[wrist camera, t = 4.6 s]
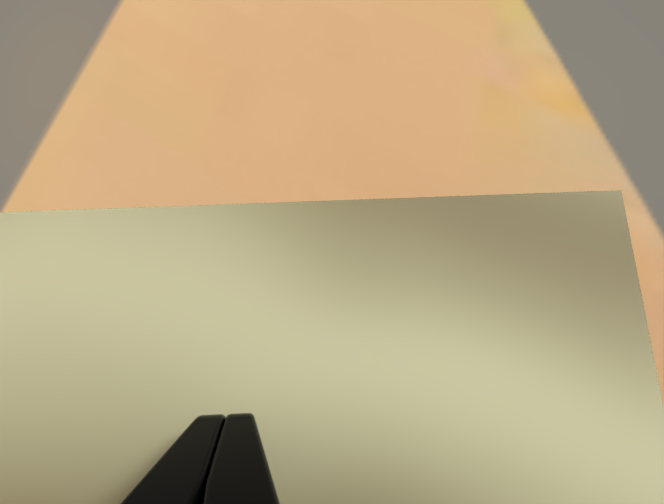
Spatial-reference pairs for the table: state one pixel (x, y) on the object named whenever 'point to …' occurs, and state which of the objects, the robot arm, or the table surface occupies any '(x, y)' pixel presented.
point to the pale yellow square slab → (334, 348)
